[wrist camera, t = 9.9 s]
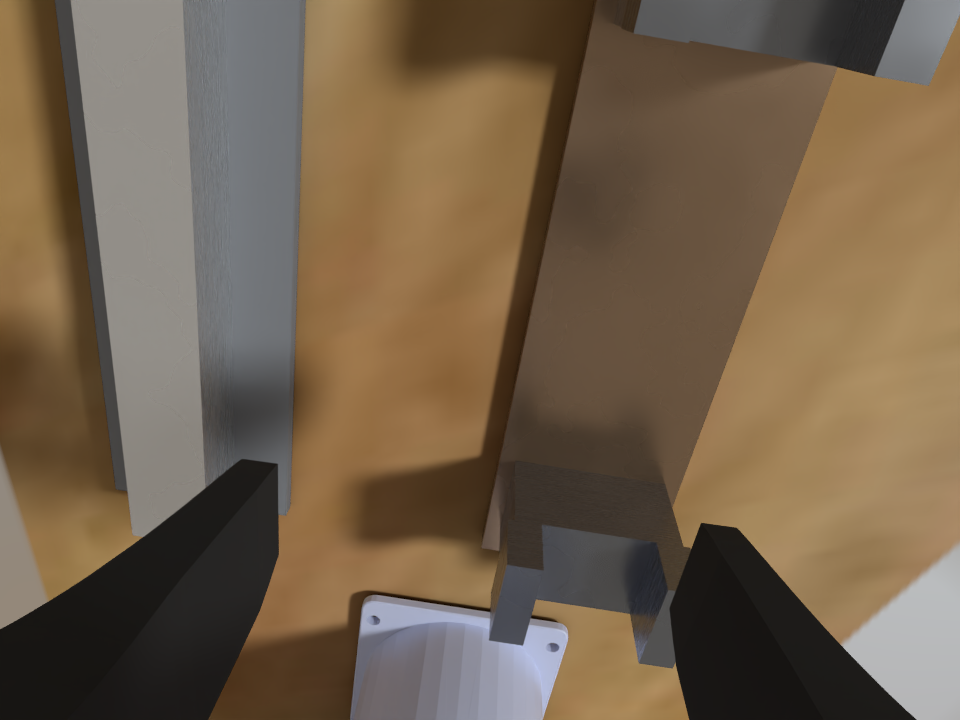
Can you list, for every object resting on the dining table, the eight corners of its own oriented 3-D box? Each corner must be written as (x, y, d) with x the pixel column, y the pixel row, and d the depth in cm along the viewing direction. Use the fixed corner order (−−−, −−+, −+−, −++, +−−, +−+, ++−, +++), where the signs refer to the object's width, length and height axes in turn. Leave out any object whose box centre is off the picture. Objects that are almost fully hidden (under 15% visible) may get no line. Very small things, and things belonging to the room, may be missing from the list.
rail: (235, 497, 24) (208, 546, 22) (167, 486, 24) (132, 535, 22) (221, -233, 15) (169, -272, 12) (106, -255, 14) (36, -296, 12)
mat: (289, 506, 25) (285, 515, 24) (122, 480, 25) (115, 489, 24) (313, -244, 15) (306, -251, 14) (32, -295, 15) (16, -305, 14)
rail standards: (644, 561, 25) (672, 691, 20) (482, 536, 25) (473, 661, 20) (900, -134, 15) (1070, -189, 10) (632, -184, 15) (683, -262, 10)
